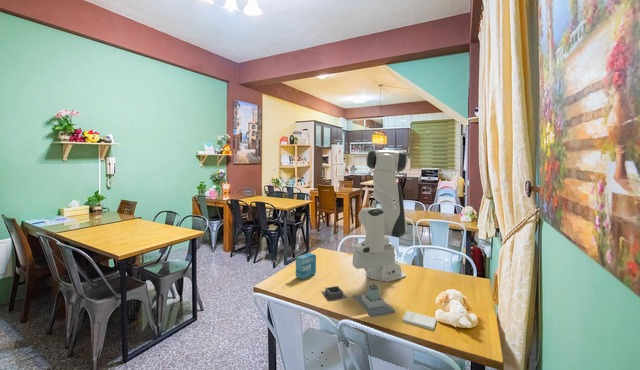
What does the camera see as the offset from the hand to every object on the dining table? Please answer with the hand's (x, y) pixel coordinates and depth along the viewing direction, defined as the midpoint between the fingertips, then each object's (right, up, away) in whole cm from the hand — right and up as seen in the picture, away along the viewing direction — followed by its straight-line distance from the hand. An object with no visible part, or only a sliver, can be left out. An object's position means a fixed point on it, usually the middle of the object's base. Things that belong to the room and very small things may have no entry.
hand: (373, 275), depth 133 cm
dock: (0, -14, +1) cm, 14 cm away
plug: (0, -13, +1) cm, 13 cm away
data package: (-32, -11, +33) cm, 48 cm away
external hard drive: (+17, -16, -11) cm, 26 cm away
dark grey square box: (-18, -13, +9) cm, 24 cm away
